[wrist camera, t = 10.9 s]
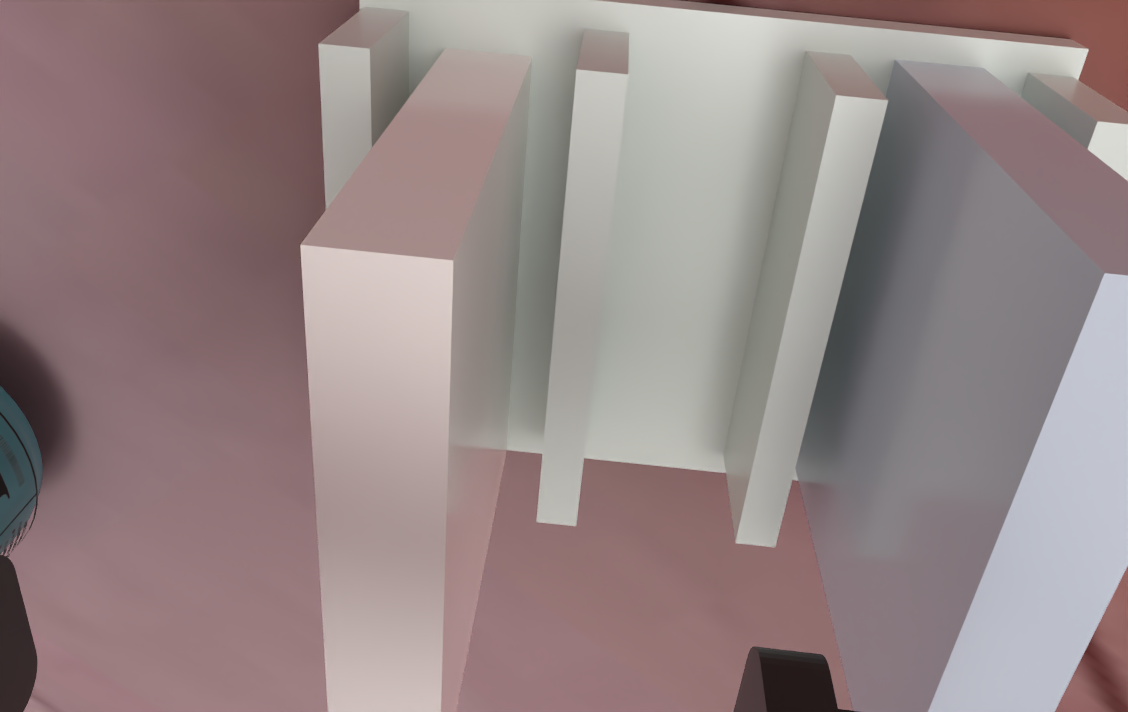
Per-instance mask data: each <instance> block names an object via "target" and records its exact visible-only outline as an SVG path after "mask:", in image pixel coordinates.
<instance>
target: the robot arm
mask: <svg viewBox="0 0 1128 712" xmlns="http://www.w3.org/2000/svg"><path fill="white" fill-rule="evenodd" d="M36 673H37V654H36V649H35V645H34V641H33V637H32V634H31V630H30V626H29V622H28V618H27V614H26V610H25V606H24V602H23V598H22V595H21V591H20V587H19V583H18V579H17V575H16V571H15V568H14V565H13V564H12V562H11V560H10V559H8V558H7V557H6V556H4V555H0V712H23V711H24V709H25V707H26V705H27V703H28V701H29V698H30V696H31V693H32V690H33V687H34V683H35V679H36ZM734 712H858V711H850V710H841V709H838V707H837V703H836V698H835V693H834V688H833V684H832V679H831V674H830V670H829V666H828V663H827V660H826V659H825V657H824V656H823V655H821V654H812V653H804V652H796V651H787V650H779V649H770V648H762V647H752V648H751V650H750V652H749V654H748V657H747V661H746V665H745V669H744V673H743V677H742V681H741V685H740V689H739V693H738V697H737V701H736V705H735V709H734Z"/></svg>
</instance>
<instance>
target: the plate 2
mask: <svg viewBox="0 0 1128 712" xmlns="http://www.w3.org/2000/svg"><path fill="white" fill-rule="evenodd" d="M886 98H887V99H888V104H887V108H886V112H885V116H884V120H883V124H882V128H881V132H880V136H879V139H878V143H877V147H876V151H875V155H874V159H873V163H872V167H871V171H870V175H869V179H868V183H867V187H866V191H865V195H864V199H863V203H862V207H861V211H860V214H859V218H858V222H857V226H856V230H855V234H854V238H853V242H852V246H851V250H850V254H849V258H848V262H847V266H846V270H845V274H844V278H843V282H842V286H841V290H840V293H839V297H838V301H837V305H836V309H835V313H834V317H833V321H832V325H831V329H830V333H829V337H828V341H827V345H826V349H825V353H824V357H823V361H822V365H821V368H820V372H819V376H818V380H817V384H816V388H815V392H814V396H813V400H812V404H811V408H810V412H809V416H808V420H807V424H806V428H805V432H804V436H803V440H802V443H801V447H800V451H799V455H798V459H797V463H796V467H795V469H796V473H797V478H798V482H799V486H800V490H801V494H802V498H803V503H804V507H805V511H806V515H807V519H808V524H809V528H810V532H811V536H812V540H813V545H814V549H815V553H816V557H817V561H818V566H819V570H820V574H821V578H822V582H823V587H824V591H825V595H826V599H827V603H828V608H829V612H830V616H831V620H832V624H833V628H834V633H835V637H836V641H837V645H838V649H839V654H840V658H841V662H842V666H843V670H844V675H845V679H846V683H847V687H848V691H849V696H850V700H851V704H852V708H853V711H858V712H1055V710H1056V708H1057V706H1058V704H1059V702H1060V700H1061V698H1062V696H1063V694H1064V692H1065V690H1066V688H1067V686H1068V684H1069V682H1070V680H1071V678H1072V676H1073V674H1074V672H1075V670H1076V668H1077V666H1078V664H1079V662H1080V660H1081V658H1082V656H1083V654H1084V652H1085V650H1086V648H1087V646H1088V644H1089V642H1090V640H1091V638H1092V636H1093V634H1094V632H1095V630H1096V628H1097V626H1098V624H1099V622H1100V620H1101V618H1102V616H1103V614H1104V612H1105V610H1106V608H1107V606H1108V604H1109V602H1110V600H1111V598H1112V596H1113V594H1114V592H1115V590H1116V588H1117V586H1118V584H1119V582H1120V580H1121V578H1122V576H1123V574H1124V572H1125V570H1126V568H1127V566H1128V181H1127V180H1126V179H1125V178H1123V177H1122V176H1121V175H1119V174H1118V173H1117V172H1116V171H1114V170H1113V169H1112V168H1111V167H1109V166H1108V165H1107V164H1105V163H1104V162H1103V161H1102V160H1100V159H1099V158H1098V157H1097V156H1095V155H1094V154H1093V153H1091V152H1090V151H1089V150H1088V149H1086V148H1085V147H1084V146H1083V145H1081V144H1080V143H1079V142H1077V141H1076V140H1075V139H1074V138H1072V137H1071V136H1070V135H1069V134H1067V133H1066V132H1065V131H1064V130H1062V129H1061V128H1060V127H1058V126H1057V125H1056V124H1055V123H1053V122H1052V121H1051V120H1050V119H1048V118H1047V117H1046V116H1044V115H1043V114H1042V113H1041V112H1039V111H1038V110H1037V109H1036V108H1034V107H1033V106H1032V105H1030V104H1029V103H1028V102H1027V101H1025V100H1024V99H1023V98H1022V97H1020V96H1019V95H1018V94H1016V93H1015V92H1014V91H1013V90H1011V89H1010V88H1009V87H1008V86H1006V85H1005V84H1004V83H1002V82H1001V81H1000V80H999V79H997V78H996V77H995V76H994V75H992V74H991V73H990V72H988V71H987V70H986V69H985V68H978V67H968V66H958V65H948V64H938V63H928V62H917V61H907V60H897V59H895V62H894V66H893V70H892V74H891V78H890V82H889V86H888V90H887V93H886Z"/></svg>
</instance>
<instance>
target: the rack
mask: <svg viewBox="0 0 1128 712" xmlns="http://www.w3.org/2000/svg"><path fill="white" fill-rule="evenodd" d="M359 4H360V11H359V12H358V13H356V14H355V15H354V16H353V17H351V18H350V19H349V20H348V21H346V22H345V23H344V24H343V25H341V26H340V27H339V28H337V29H336V30H335V31H334V32H332V33H331V34H330V35H329V36H327V37H326V38H325V39H324V40H322V41H321V42H320V43H319V44H318V45H319V68H320V91H321V113H322V136H323V159H324V182H325V204H326V209H327V208H328V207H329V205H330V204H331V203H332V201H333V200H334V199H335V197H336V196H337V194H338V193H339V192H340V190H341V189H342V188H343V186H344V185H345V184H346V182H347V181H348V180H349V178H350V177H351V176H352V174H353V173H354V171H355V170H356V169H357V167H358V166H359V165H360V163H361V162H362V161H363V159H364V158H365V157H366V155H367V154H368V153H369V151H370V150H371V148H372V147H373V146H374V144H375V143H376V142H377V140H378V139H379V138H380V136H381V135H382V134H383V132H384V131H385V130H386V128H387V127H388V125H389V124H390V123H391V121H392V120H393V119H394V117H395V116H396V115H397V113H398V112H399V111H400V109H401V108H402V107H403V105H404V104H405V102H406V101H407V100H408V98H409V97H410V96H411V94H412V93H413V92H414V90H415V89H416V88H417V86H418V85H419V84H420V82H421V81H422V80H423V78H424V77H425V75H426V74H427V73H428V71H429V70H430V69H431V67H432V66H433V65H434V63H435V62H436V61H437V59H438V58H439V57H440V55H441V54H442V52H443V51H444V50H445V48H450V49H460V50H470V51H480V52H490V53H501V54H511V55H521V56H531V57H532V69H531V85H530V100H529V115H528V131H527V146H526V161H525V177H524V192H523V207H522V222H521V238H520V253H519V268H518V284H517V299H516V314H515V330H514V345H513V360H512V376H511V391H510V406H509V422H508V437H507V450H511V451H520V452H530V453H539V454H542V465H541V476H540V487H539V499H538V510H537V521H536V522H540V523H550V524H559V525H569V526H576V523H577V514H578V506H579V497H580V488H581V480H582V471H583V462H584V458H587V459H597V460H606V461H616V462H625V463H635V464H644V465H654V466H663V467H673V468H682V469H692V470H701V471H711V472H721V473H726V478H727V485H728V493H729V500H730V507H731V515H732V522H733V530H734V537H735V543H739V544H749V545H758V546H768V547H775V546H776V542H777V538H778V534H779V530H780V526H781V522H782V519H783V515H784V511H785V507H786V503H787V499H788V495H789V491H790V487H791V483H792V480H797V481H798V478H797V473H796V469H795V467H796V463H797V459H798V455H799V451H800V447H801V443H802V440H803V436H804V432H805V428H806V424H807V420H808V416H809V412H810V408H811V404H812V400H813V396H814V392H815V388H816V384H817V380H818V376H819V372H820V368H821V365H822V361H823V357H824V353H825V349H826V345H827V341H828V337H829V333H830V329H831V325H832V321H833V317H834V313H835V309H836V305H837V301H838V297H839V293H840V290H841V286H842V282H843V278H844V274H845V270H846V266H847V262H848V258H849V254H850V250H851V246H852V242H853V238H854V234H855V230H856V226H857V222H858V218H859V214H860V211H861V207H862V203H863V199H864V195H865V191H866V187H867V183H868V179H869V175H870V171H871V167H872V163H873V159H874V155H875V151H876V147H877V143H878V139H879V136H880V132H881V128H882V124H883V120H884V116H885V112H886V108H887V104H888V99H887V98H886V93H887V90H888V86H889V82H890V78H891V74H892V70H893V66H894V62H895V59H897V60H907V61H917V62H928V63H938V64H948V65H958V66H968V67H978V68H985V69H986V70H987V71H988V72H990V73H991V74H992V75H994V76H995V77H996V78H997V79H999V80H1000V81H1001V82H1002V83H1004V84H1005V85H1006V86H1008V87H1009V88H1010V89H1011V90H1013V91H1014V92H1015V93H1016V94H1018V95H1019V96H1020V97H1022V98H1023V99H1024V100H1025V101H1027V102H1028V103H1029V104H1030V105H1032V106H1033V107H1034V108H1036V109H1037V110H1038V111H1039V112H1041V113H1042V114H1043V115H1044V116H1046V117H1047V118H1048V119H1050V120H1051V121H1052V122H1053V123H1055V124H1056V125H1057V126H1058V127H1060V128H1061V129H1062V130H1064V131H1065V132H1066V133H1067V134H1069V135H1070V136H1071V137H1072V138H1074V139H1075V140H1076V141H1077V142H1079V143H1080V144H1081V145H1083V146H1084V147H1085V148H1086V149H1088V150H1089V151H1090V152H1091V153H1093V154H1094V155H1095V156H1097V157H1098V158H1099V159H1100V160H1102V161H1103V162H1104V163H1105V164H1107V165H1108V166H1109V167H1111V168H1112V169H1113V170H1114V171H1116V172H1117V173H1118V174H1119V175H1121V176H1122V177H1123V178H1125V179H1126V180H1127V181H1128V112H1127V111H1125V110H1124V109H1122V108H1121V107H1119V106H1118V105H1116V104H1114V103H1113V102H1111V101H1110V100H1108V99H1107V98H1105V97H1104V96H1102V95H1100V94H1099V93H1097V92H1096V91H1094V90H1093V89H1091V88H1090V87H1088V86H1087V85H1085V84H1083V83H1082V82H1080V81H1079V80H1078V79H1079V76H1080V73H1081V70H1082V67H1083V65H1084V62H1085V59H1086V56H1087V53H1088V50H1089V49H1088V48H1086V47H1084V46H1082V45H1081V44H1079V43H1077V42H1075V41H1074V40H1072V39H1064V38H1054V37H1044V36H1034V35H1024V34H1014V33H1003V32H993V31H983V30H973V29H963V28H953V27H943V26H933V25H923V24H912V23H902V22H892V21H882V20H872V19H862V18H852V17H842V16H831V15H821V14H811V13H801V12H791V11H781V10H771V9H761V8H751V7H740V6H730V5H720V4H710V3H700V2H690V1H680V0H359Z"/></svg>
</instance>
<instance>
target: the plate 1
mask: <svg viewBox="0 0 1128 712" xmlns="http://www.w3.org/2000/svg"><path fill="white" fill-rule="evenodd" d="M531 69H532V57H531V56H521V55H511V54H501V53H490V52H480V51H470V50H460V49H450V48H445V50H444V51H443V52H442V54H441V55H440V57H439V58H438V59H437V61H436V62H435V63H434V65H433V66H432V67H431V69H430V70H429V71H428V73H427V74H426V75H425V77H424V78H423V80H422V81H421V82H420V84H419V85H418V86H417V88H416V89H415V90H414V92H413V93H412V94H411V96H410V97H409V98H408V100H407V101H406V102H405V104H404V105H403V107H402V108H401V109H400V111H399V112H398V113H397V115H396V116H395V117H394V119H393V120H392V121H391V123H390V124H389V125H388V127H387V128H386V130H385V131H384V132H383V134H382V135H381V136H380V138H379V139H378V140H377V142H376V143H375V144H374V146H373V147H372V148H371V150H370V151H369V153H368V154H367V155H366V157H365V158H364V159H363V161H362V162H361V163H360V165H359V166H358V167H357V169H356V170H355V171H354V173H353V174H352V176H351V177H350V178H349V180H348V181H347V182H346V184H345V185H344V186H343V188H342V189H341V190H340V192H339V193H338V194H337V196H336V197H335V199H334V200H333V201H332V203H331V204H330V205H329V207H328V208H327V209H326V211H325V212H324V213H323V215H322V216H321V217H320V219H319V220H318V222H317V223H316V224H315V226H314V227H313V228H312V230H311V231H310V232H309V234H308V235H307V236H306V238H305V239H304V240H303V242H302V243H301V244H300V249H301V266H302V282H303V299H304V316H305V333H306V350H307V367H308V384H309V401H310V418H311V434H312V451H313V468H314V485H315V502H316V519H317V536H318V553H319V570H320V586H321V603H322V620H323V637H324V654H325V671H326V688H327V705H328V712H456V711H457V706H458V701H459V696H460V690H461V685H462V680H463V675H464V670H465V665H466V659H467V654H468V649H469V644H470V639H471V634H472V628H473V623H474V618H475V613H476V608H477V603H478V597H479V592H480V587H481V582H482V577H483V572H484V566H485V561H486V556H487V551H488V546H489V541H490V535H491V530H492V525H493V520H494V515H495V510H496V505H497V499H498V494H499V489H500V484H501V479H502V474H503V468H504V463H505V458H506V452H507V437H508V422H509V406H510V391H511V376H512V360H513V345H514V330H515V314H516V299H517V284H518V268H519V253H520V238H521V222H522V207H523V192H524V177H525V161H526V146H527V131H528V115H529V100H530V85H531Z"/></svg>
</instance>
